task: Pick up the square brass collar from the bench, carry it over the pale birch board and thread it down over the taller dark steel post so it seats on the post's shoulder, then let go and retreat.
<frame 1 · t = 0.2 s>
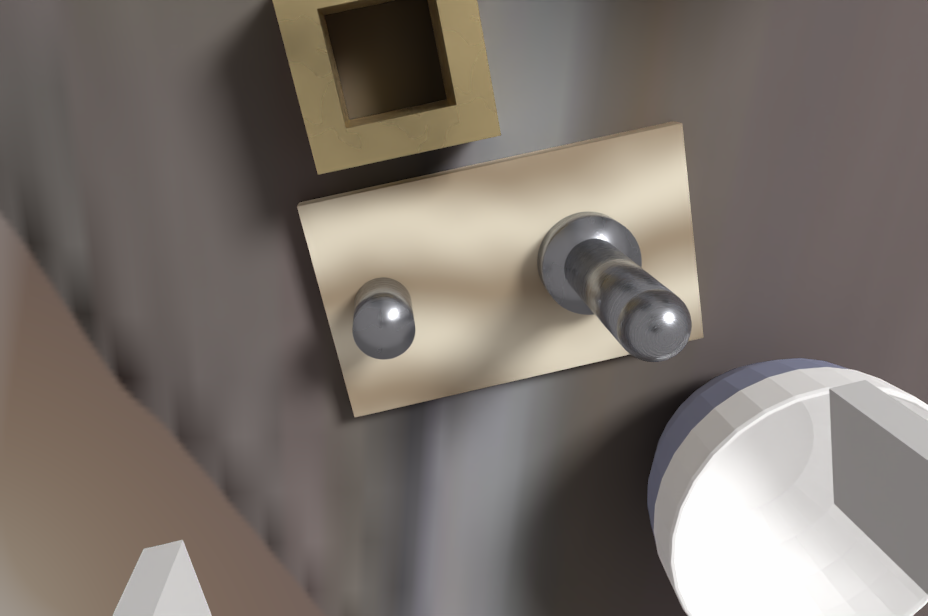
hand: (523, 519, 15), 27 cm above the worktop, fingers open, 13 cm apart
tall steel post: (579, 254, 42), resting on birch board
short steel post: (382, 297, 41), resting on birch board
bowl: (736, 440, 47), on the worktop
brass collar: (386, 58, 38), on the worktop
birch board: (508, 269, 42), on the worktop
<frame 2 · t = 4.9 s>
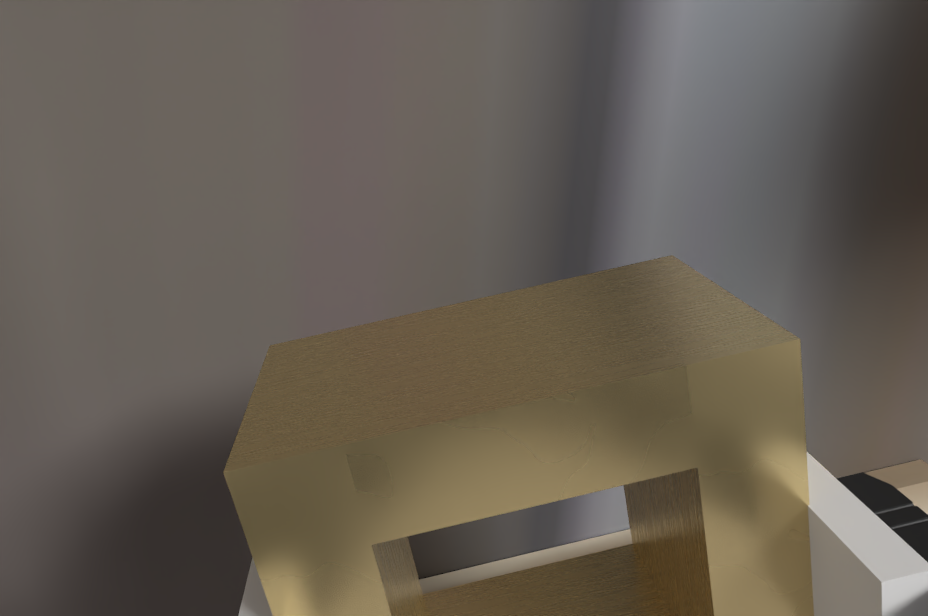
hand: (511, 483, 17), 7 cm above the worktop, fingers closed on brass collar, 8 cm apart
brass collar: (509, 476, 17), point 6 cm above the worktop, touching gripper
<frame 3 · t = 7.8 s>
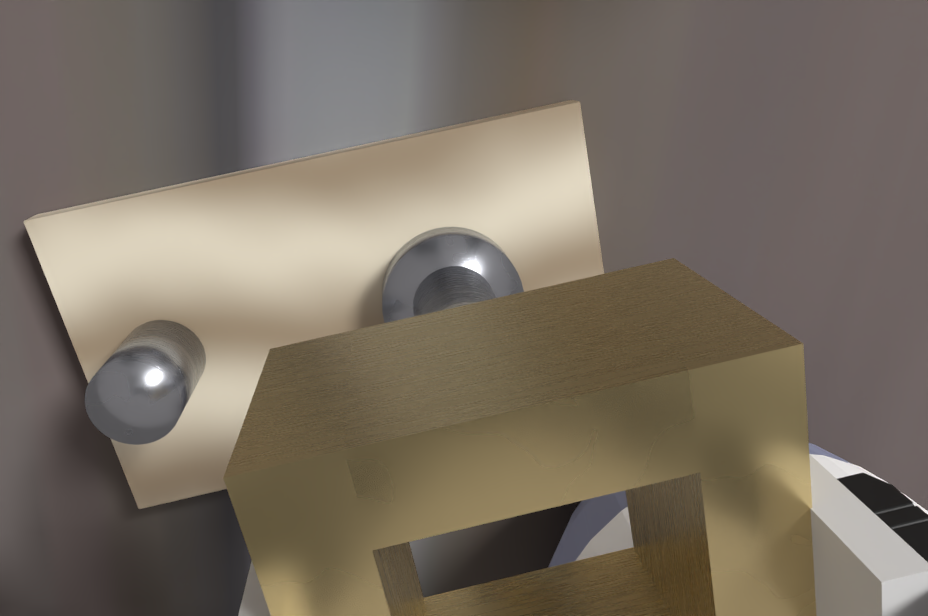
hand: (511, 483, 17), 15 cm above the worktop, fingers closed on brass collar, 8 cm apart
tall steel post: (447, 284, 30), resting on birch board
short steel post: (172, 345, 30), resting on birch board
bowl: (674, 526, 36), on the worktop
brass collar: (510, 479, 17), point 14 cm above the worktop, touching gripper
birch board: (348, 306, 30), on the worktop
when the fingers open (3 cm above the worktop, at t = 10.6 s): brass collar stays where it is, resting on tall steel post.
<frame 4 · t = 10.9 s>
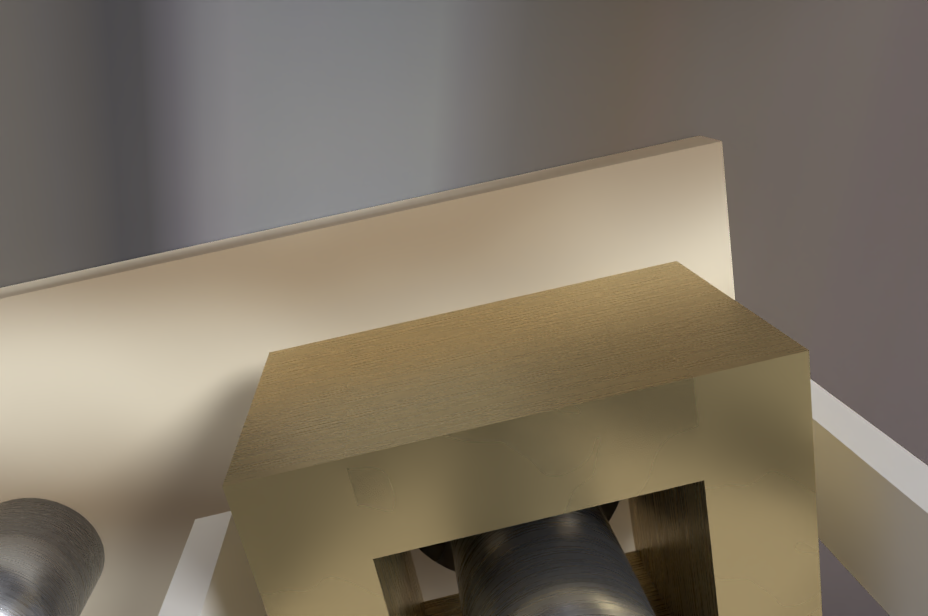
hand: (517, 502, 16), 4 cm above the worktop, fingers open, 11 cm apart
tall steel post: (492, 423, 19), resting on birch board
short steel post: (56, 524, 19), resting on birch board
brass collar: (511, 483, 17), point 3 cm above the worktop, touching tall steel post
birch board: (336, 459, 19), on the worktop
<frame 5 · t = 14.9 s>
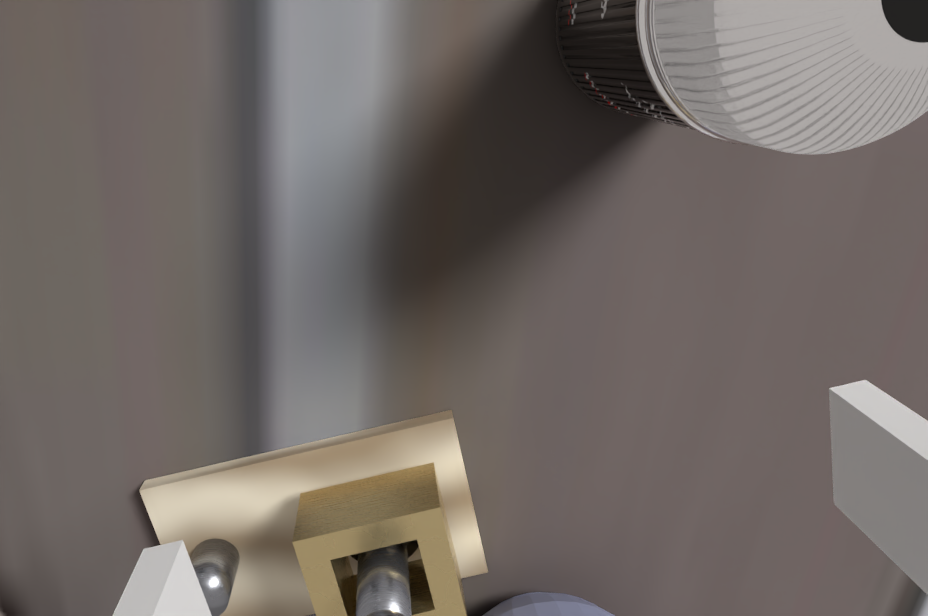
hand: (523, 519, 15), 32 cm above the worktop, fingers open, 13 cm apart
tall steel post: (381, 508, 51), resting on birch board
short steel post: (219, 547, 51), resting on birch board
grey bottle: (635, 22, 43), on the worktop
brass collar: (382, 533, 49), point 3 cm above the worktop, touching tall steel post
birch board: (323, 522, 51), on the worktop
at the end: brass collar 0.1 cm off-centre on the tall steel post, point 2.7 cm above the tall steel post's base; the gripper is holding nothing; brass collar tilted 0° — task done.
